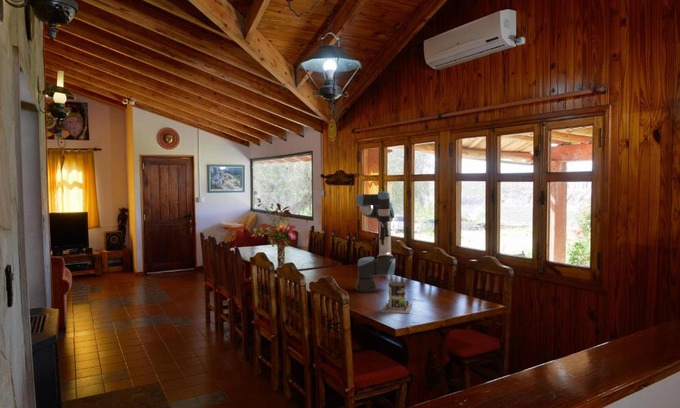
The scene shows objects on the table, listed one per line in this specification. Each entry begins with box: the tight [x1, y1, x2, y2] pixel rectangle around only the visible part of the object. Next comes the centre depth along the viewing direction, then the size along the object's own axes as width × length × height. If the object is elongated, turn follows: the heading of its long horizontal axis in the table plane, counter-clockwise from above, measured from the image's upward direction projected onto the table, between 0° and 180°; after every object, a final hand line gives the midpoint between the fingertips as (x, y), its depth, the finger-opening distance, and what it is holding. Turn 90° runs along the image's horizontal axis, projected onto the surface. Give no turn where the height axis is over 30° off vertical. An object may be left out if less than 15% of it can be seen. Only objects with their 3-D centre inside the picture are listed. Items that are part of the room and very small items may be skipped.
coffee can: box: [388, 281, 407, 309], centre depth 304 cm, size 10×10×14 cm
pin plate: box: [381, 299, 413, 314], centre depth 304 cm, size 16×16×4 cm
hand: (384, 248), depth 322 cm, fingers open, 13 cm apart
